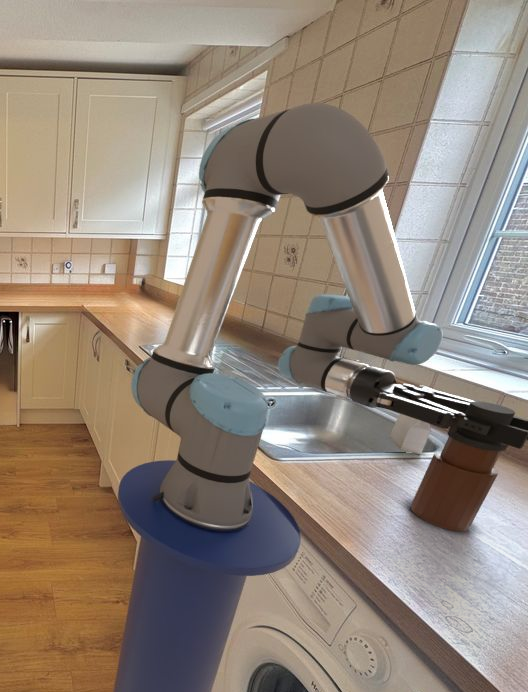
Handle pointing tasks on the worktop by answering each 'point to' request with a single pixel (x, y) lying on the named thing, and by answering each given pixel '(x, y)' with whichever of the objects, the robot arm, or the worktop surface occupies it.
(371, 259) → the robot arm
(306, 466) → the worktop surface
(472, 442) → the bung
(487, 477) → the brown stepped cylinder
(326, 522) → the worktop surface
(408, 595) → the worktop surface
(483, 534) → the worktop surface
